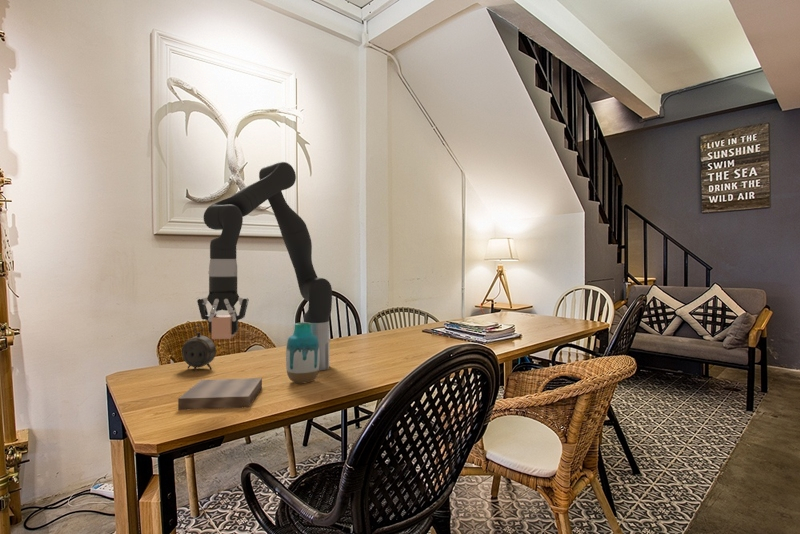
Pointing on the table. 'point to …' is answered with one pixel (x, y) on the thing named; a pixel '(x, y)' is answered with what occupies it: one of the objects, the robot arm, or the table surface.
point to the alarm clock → (198, 351)
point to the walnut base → (220, 394)
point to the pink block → (222, 327)
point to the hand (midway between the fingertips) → (223, 333)
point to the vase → (302, 354)
